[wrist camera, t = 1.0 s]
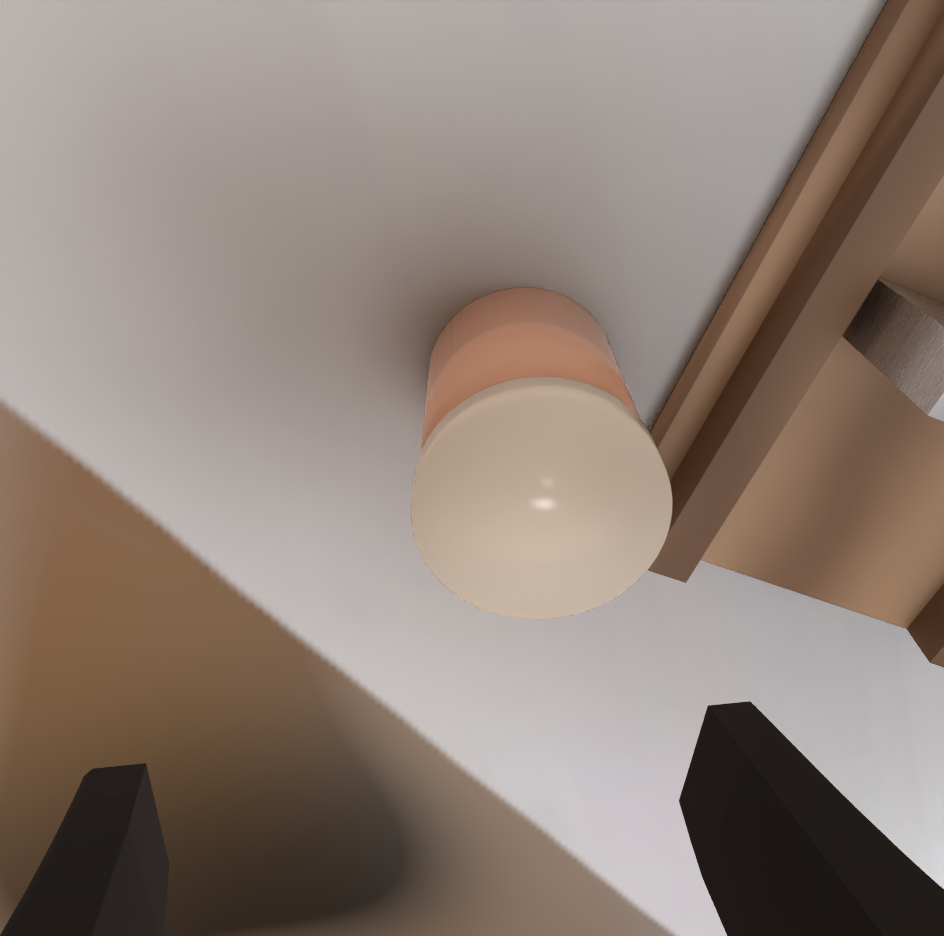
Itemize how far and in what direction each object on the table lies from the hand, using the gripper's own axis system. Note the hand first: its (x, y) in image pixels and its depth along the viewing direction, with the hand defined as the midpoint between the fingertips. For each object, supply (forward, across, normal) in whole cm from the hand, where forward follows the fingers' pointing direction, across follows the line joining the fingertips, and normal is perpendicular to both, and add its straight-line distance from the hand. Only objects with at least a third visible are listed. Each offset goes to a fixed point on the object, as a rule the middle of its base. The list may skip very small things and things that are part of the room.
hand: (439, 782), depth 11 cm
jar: (+13, -4, +1) cm, 14 cm away
